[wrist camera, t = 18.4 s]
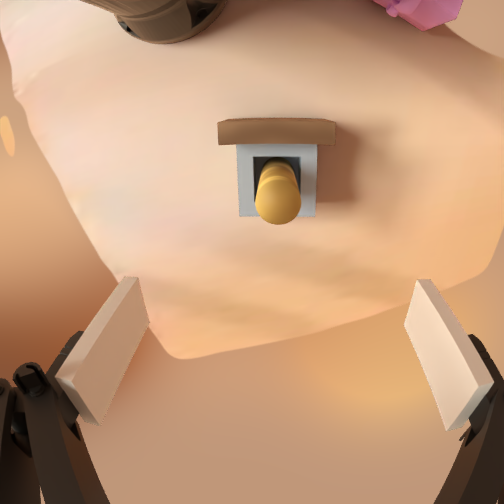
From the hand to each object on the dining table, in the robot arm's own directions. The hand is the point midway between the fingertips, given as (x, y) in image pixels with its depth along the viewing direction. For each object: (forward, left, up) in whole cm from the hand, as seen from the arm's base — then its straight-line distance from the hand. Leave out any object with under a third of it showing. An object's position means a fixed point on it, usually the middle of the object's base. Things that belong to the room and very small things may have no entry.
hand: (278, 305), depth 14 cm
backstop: (-6, 0, -29) cm, 29 cm away
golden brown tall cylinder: (0, 0, -28) cm, 28 cm away
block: (0, 0, -29) cm, 29 cm away
